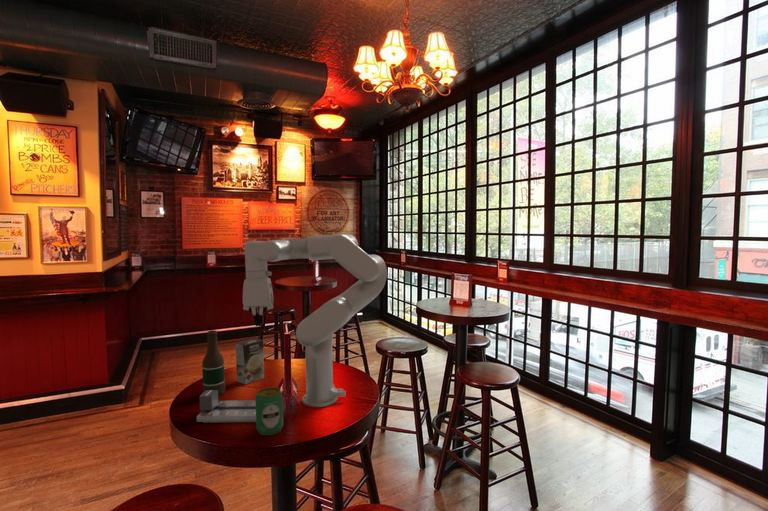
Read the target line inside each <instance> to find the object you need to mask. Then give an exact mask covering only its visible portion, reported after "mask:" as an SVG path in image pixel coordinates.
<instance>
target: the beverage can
mask: <svg viewBox="0 0 768 511" xmlns="http://www.w3.org/2000/svg"><path fill="white" fill-rule="evenodd" d="M254 400H255V402H256V422H255V424H256V425H255V427H256V430H257V433H258V434H259V435H260V436H261V435H262V436H272V435H275V434H276V435H277V434H278V433H279V432H281V431H282V429H283V427H284V402H283V393H282V391H281V389H280V388H279V387H275V386H272V387H271V386H270V387H264V388H261V389H259V390H258V391H257V392H256V395H255V398H254Z"/></svg>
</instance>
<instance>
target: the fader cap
mask: <svg viewBox="0 0 768 511" xmlns="http://www.w3.org/2000/svg"><path fill="white" fill-rule="evenodd" d="M218 401H219V396H218V390H206V391H205V392H204V393H203V392H202V393H201V394H200V395H199V411H203V410H213V409H214V408H215V407H216V406H217V405H218Z"/></svg>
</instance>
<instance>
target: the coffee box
mask: <svg viewBox="0 0 768 511" xmlns="http://www.w3.org/2000/svg"><path fill="white" fill-rule="evenodd" d="M264 354H265V353H264V340H263V339H260V338H251V339H246V340H242V341H237V342H235V366H236V367H235V368H236V369H235V370H236V382H237V383H240V384H243V385H247V384H248V385H249V384H251V383H254V382H257V381H260V380H262V379H265V363H264V361H265V359H264V357H265V356H264Z"/></svg>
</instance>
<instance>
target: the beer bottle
mask: <svg viewBox="0 0 768 511" xmlns="http://www.w3.org/2000/svg"><path fill="white" fill-rule="evenodd" d="M217 334H218V331H217V330H214V329H213V330H208V331H207V332H206V336H207V338H206V339H207V340H206V342H207V343H206V346H207V347H206V354H205V356H204V357H203V360H202V364H201V369H202V371H201V372H202V373H201V374H202V394H203V393H204V392H205V391H206V390H218V397H221V396H223V395H224V393H225V392H226V377H225V376H226V373H225V372H226V371H225V360H224V359H225V358H224V356H223V354H222V353H221V352H220V351H219V347H218V336H217Z"/></svg>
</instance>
